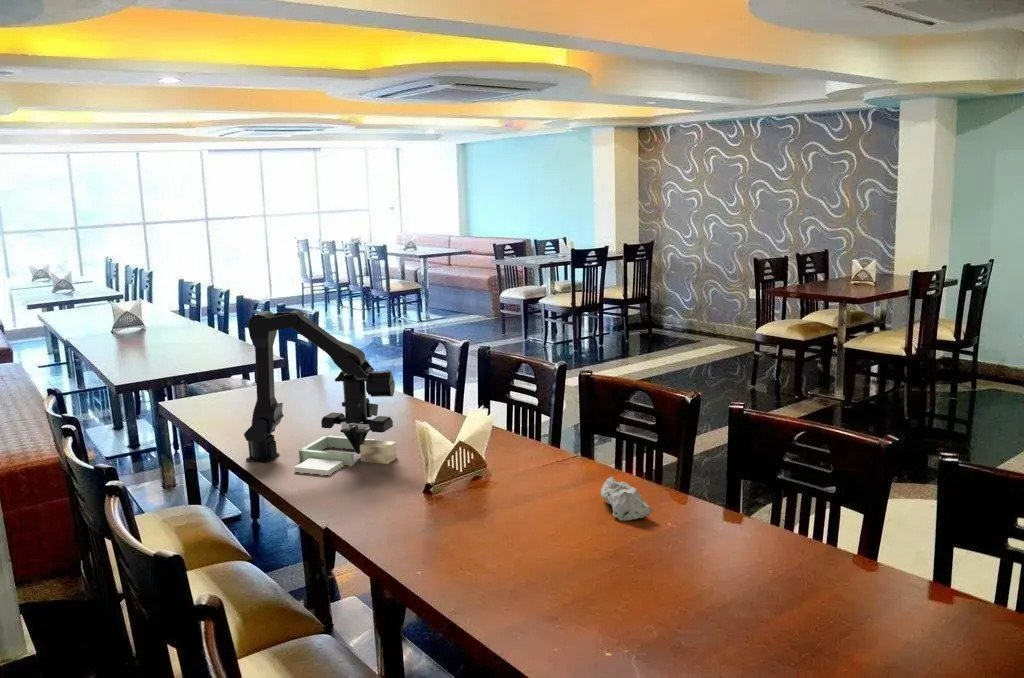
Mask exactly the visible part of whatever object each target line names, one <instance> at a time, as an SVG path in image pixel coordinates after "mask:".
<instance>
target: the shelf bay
mask: <svg viewBox="0 0 1024 678" xmlns="http://www.w3.org/2000/svg"><path fill="white" fill-rule="evenodd" d="M368 440H377V439H373V438H365V441H364V443H365V442H366V441H368ZM332 447H335V448H334V449H343V448H345V449H344V450H346V449H347V450H354V448H353V446H352V445H351V443H350V441H349V440H348V439H347V437H346V436H341V435H340V436H338V435H328V434H327V435H324V436H322V437H320V438H318V439H317V440H315V441H313V442H311V443H309V444H308V445H305V446H304V447H302V448H301V449H299V450H298V459H299V462H302V461H305V460H307V459H309V458H314V459H325V460H335V461H343V465H349V466H348V467H353V466H354V465H355V456H354V453H347V452H337V451H327V450H326V449H327V448H332ZM325 448H326V449H325ZM323 449H324V450H323ZM352 465H353V466H352Z"/></svg>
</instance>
